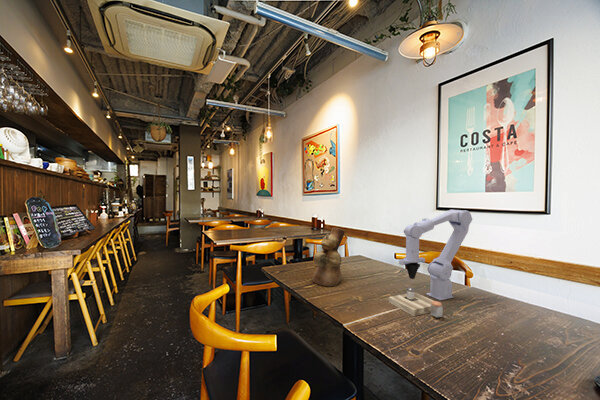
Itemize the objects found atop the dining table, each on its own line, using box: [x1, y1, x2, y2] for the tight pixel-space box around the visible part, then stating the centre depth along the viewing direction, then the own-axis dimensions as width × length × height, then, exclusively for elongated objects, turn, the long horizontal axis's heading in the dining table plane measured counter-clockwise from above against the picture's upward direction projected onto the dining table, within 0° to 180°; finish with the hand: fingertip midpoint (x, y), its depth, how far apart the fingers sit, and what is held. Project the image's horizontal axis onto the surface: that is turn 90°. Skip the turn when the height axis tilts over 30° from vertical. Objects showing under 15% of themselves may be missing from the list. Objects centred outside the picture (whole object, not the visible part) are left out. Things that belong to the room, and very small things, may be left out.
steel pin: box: [406, 286, 416, 301], centre depth 113 cm, size 3×3×7 cm
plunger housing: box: [429, 304, 443, 318], centre depth 100 cm, size 3×3×4 cm
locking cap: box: [432, 300, 443, 307], centre depth 100 cm, size 4×4×4 cm
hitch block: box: [388, 292, 435, 317], centre depth 111 cm, size 16×14×2 cm
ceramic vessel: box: [311, 227, 345, 288], centre depth 142 cm, size 16×22×30 cm
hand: (411, 278), depth 120 cm, fingers closed
